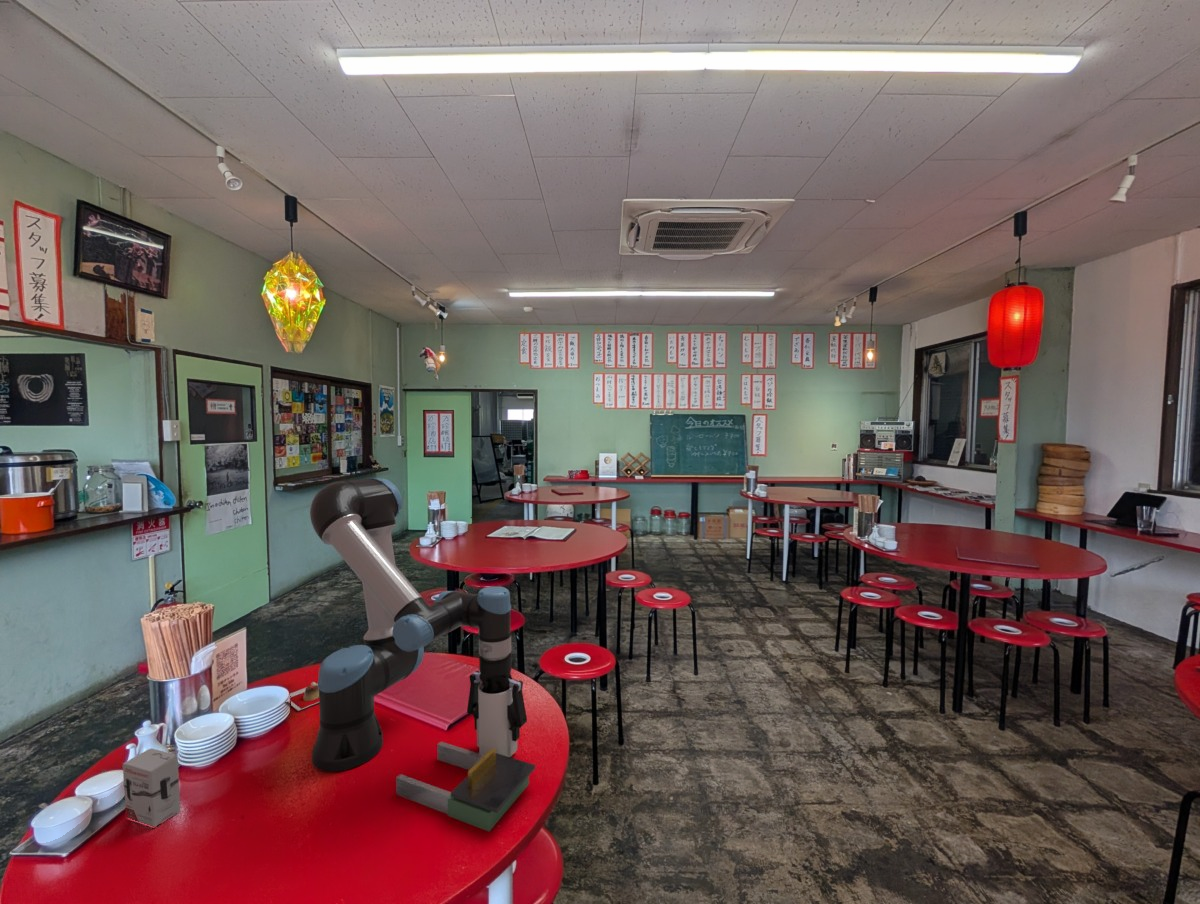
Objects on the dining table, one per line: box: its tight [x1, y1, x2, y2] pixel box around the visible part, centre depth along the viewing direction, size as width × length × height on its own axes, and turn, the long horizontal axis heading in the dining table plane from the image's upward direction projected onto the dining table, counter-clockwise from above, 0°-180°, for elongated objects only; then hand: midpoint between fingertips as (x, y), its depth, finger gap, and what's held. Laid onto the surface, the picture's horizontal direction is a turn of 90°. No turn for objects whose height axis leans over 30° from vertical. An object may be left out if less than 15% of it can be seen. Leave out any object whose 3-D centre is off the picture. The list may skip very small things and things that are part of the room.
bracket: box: [395, 741, 485, 815], centre depth 107 cm, size 14×13×4 cm
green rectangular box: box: [447, 775, 530, 832], centre depth 102 cm, size 10×14×4 cm
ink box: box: [122, 748, 181, 827], centre depth 99 cm, size 8×5×12 cm, turn 72°
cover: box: [450, 748, 536, 813], centre depth 102 cm, size 11×14×4 cm
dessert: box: [289, 681, 319, 712], centre depth 144 cm, size 12×12×5 cm
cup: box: [478, 682, 513, 757], centre depth 118 cm, size 8×8×16 cm
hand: (497, 747), depth 118 cm, fingers closed on cup, 8 cm apart
